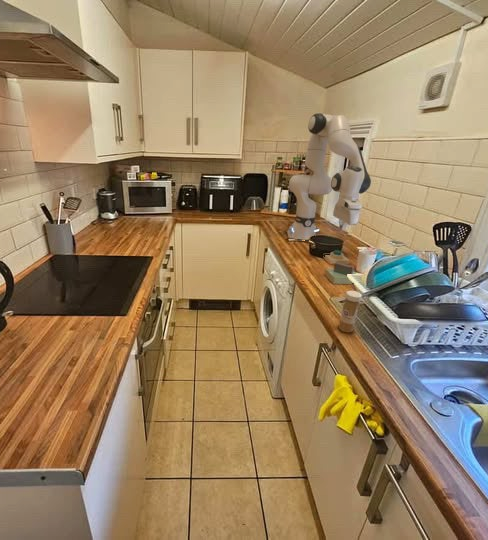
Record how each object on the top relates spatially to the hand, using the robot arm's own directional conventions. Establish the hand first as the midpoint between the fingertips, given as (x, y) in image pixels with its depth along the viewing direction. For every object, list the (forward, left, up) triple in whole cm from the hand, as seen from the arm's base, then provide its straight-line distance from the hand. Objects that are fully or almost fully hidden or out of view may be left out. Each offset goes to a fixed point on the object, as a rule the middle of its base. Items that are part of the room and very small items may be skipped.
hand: (342, 229), depth 151 cm
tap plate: (+23, -7, -17) cm, 30 cm away
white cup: (+14, +8, -17) cm, 23 cm away
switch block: (0, 0, -17) cm, 17 cm away
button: (0, 0, -14) cm, 14 cm away
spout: (+23, -7, -14) cm, 28 cm away
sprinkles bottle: (+62, -23, -17) cm, 69 cm away
